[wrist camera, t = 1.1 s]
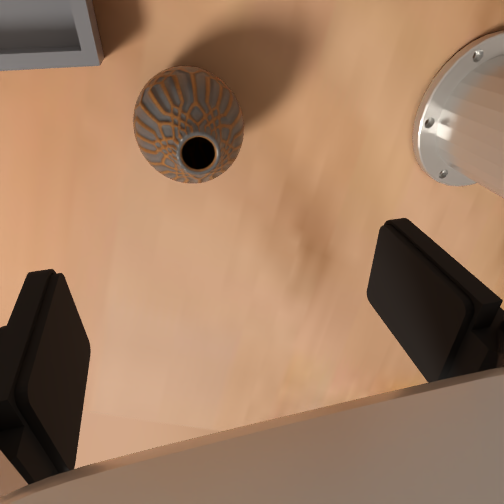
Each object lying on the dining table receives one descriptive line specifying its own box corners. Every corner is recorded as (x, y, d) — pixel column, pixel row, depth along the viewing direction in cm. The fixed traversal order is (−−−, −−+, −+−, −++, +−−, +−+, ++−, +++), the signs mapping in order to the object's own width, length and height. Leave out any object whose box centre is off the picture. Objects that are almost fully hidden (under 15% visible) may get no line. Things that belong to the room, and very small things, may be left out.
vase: (160, 36, 24) (166, 55, 17) (249, 92, 28) (285, 127, 20) (119, 131, 27) (110, 181, 20) (204, 172, 30) (222, 228, 23)
